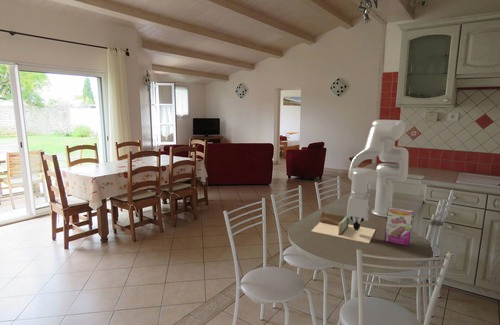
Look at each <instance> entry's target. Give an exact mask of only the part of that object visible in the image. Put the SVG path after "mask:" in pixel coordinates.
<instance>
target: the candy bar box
mask: <svg viewBox="0 0 500 325" xmlns="http://www.w3.org/2000/svg"><path fill="white" fill-rule="evenodd" d="M413 220H414V210H408V209H403V208H396V207H392V208H391V207H389V208H388V210H387V217H386V221H385V232H384V242H388V243H392V244H397V245H400V246H401V245H402V246H405V247H406V246H407V247H410V245H411V239H412V238H411V237H412V230H413V229H412V228H413Z"/></svg>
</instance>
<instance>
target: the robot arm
mask: <svg viewBox="0 0 500 325" xmlns="http://www.w3.org/2000/svg"><path fill="white" fill-rule="evenodd" d="M369 129H370V130H369V132H368V135H367V139H366V142H365V145H364V148H363V150H361V151H360V152H358V153H357V154H356V155H355V156H354V157H353V158H352V159H351V160H352V161H351V162H350V166H349V169H348V174H347V176H348V179H349V180H350V181H351V187H350V188H351V189H350V195H349V197H348V201H347V207H346V208H347V209H346V214H345V215H346V217H347V218H349V220H351V222H352V223H353V224H352V225H353V228H355V229H354V230H355V231H356V230H357V231H358V229H360V227H361V223H363V222H365V221H369V211H370V209H369V208H370V206H369V205H370V203H369V202H370V201H369V197H371V194H370V193H368V185H371V184H375V183H376V186H375V188H376V189H375V200H374V209H372V210H371V213H372V214H373V215H374V216H377V217H384V218H387V210H388V208H389V207H391V208H393V205H392V204H393V197H394V196H393V194H394V185H393V182H392V181H397V182H398V181H399V182H404V181H405V182H406V180H407V179H408V175H409V174H408V173H409V157H410V156H409V151H408V149H407V148H405V147H401V146H396V142H397V141H398V140H399V139H400V137H402V136H403V134H405V131H406V123H405V122H404V121H403V120H402V119H401V120H400V119H399V120H398V119H376V120H373V121H372V123H371V127H370V128H369ZM375 157H378V159H379V161H380V162H383V163H379V164H378V165H377V166H376V168H375V169H372V168H367V167H366V168H365V167H359V165H360V164H362V162H364V161H366V160H370V159H372V158H375ZM357 218H358V220H357Z"/></svg>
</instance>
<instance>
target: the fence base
mask: <svg viewBox="0 0 500 325" xmlns="http://www.w3.org/2000/svg"><path fill="white" fill-rule="evenodd" d="M346 215H347V214H345V215H344V214H343V215H341V214H338V213H337V214H336V213H330V212H326V211H324V210H320V213H319V223H320V222H324V223H329V224H334V225H339V222H341V221H342V220H343V219H344V218H345V217H346ZM349 220H350V218H347V227H348V224H349V222H350V221H349Z"/></svg>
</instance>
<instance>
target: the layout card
mask: <svg viewBox="0 0 500 325" xmlns="http://www.w3.org/2000/svg"><path fill="white" fill-rule="evenodd" d="M353 225H354V224H349V223H348V227H346V228H345V230H344V231H343V232H342V234H338V232H339V225H334V224H329V223H324V222H320V221H319V222H318V223H317V224H316V225H315V226H314V227H313V229H311V230H310V232H312V233H316V234H320V235H325V236H330V237H336V238H338V239H339V238H340V239H344V240H350V241H354V242H359V243H363V244H370V243H371V241H372V239H373V237H374V235H375V233H376V229H374V228H370V227H369V228H368V227H363V226H360V229H358V231H357V230H356V231H355V230H354V229H355V228H353Z"/></svg>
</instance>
